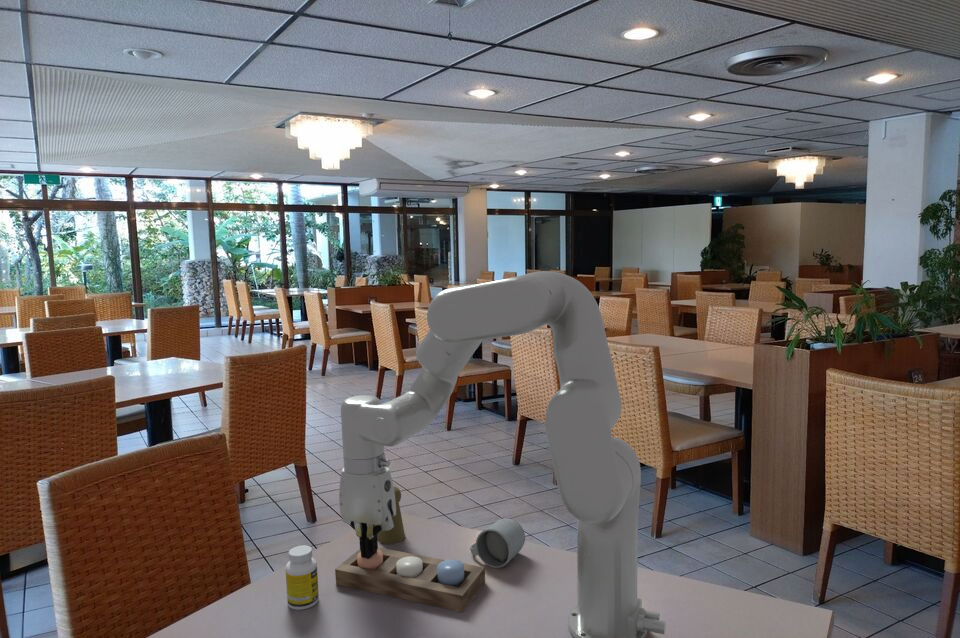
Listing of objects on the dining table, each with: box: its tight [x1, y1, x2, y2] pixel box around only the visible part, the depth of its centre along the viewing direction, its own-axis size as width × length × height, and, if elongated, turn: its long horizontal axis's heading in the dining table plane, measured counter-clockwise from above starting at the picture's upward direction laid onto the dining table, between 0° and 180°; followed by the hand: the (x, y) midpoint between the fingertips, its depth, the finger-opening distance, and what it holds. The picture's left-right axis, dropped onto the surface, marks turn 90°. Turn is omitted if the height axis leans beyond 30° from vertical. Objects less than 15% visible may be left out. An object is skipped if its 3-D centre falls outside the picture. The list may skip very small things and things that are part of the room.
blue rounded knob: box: [437, 559, 465, 587], centre depth 119 cm, size 5×5×3 cm
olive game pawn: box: [377, 485, 406, 545], centre depth 141 cm, size 6×6×11 cm
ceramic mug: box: [469, 517, 526, 569], centre depth 131 cm, size 11×8×8 cm
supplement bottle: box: [285, 544, 320, 611], centre depth 117 cm, size 5×5×10 cm
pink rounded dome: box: [357, 550, 383, 570], centre depth 126 cm, size 5×5×3 cm
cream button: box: [396, 556, 423, 579], centre depth 123 cm, size 5×5×3 cm
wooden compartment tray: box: [334, 546, 486, 613], centre depth 123 cm, size 26×10×3 cm, turn 67°
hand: (369, 554), depth 126 cm, fingers closed
